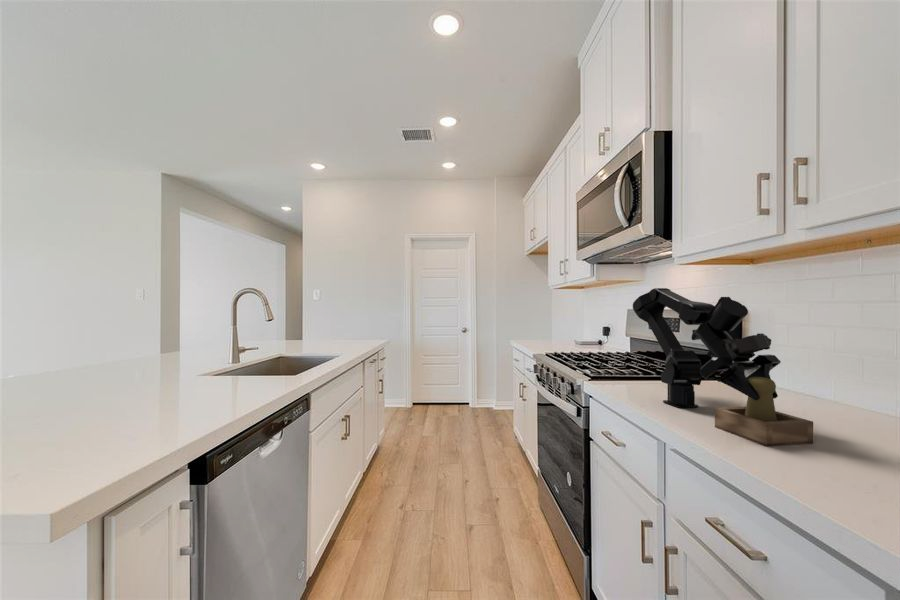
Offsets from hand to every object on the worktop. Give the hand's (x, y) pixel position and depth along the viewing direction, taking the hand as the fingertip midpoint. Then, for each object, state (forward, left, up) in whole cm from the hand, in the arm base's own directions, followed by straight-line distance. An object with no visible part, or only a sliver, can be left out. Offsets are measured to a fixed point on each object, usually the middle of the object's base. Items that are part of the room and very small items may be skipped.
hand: (767, 398), depth 81 cm
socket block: (-1, 0, -8) cm, 8 cm away
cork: (-1, 0, -7) cm, 7 cm away
